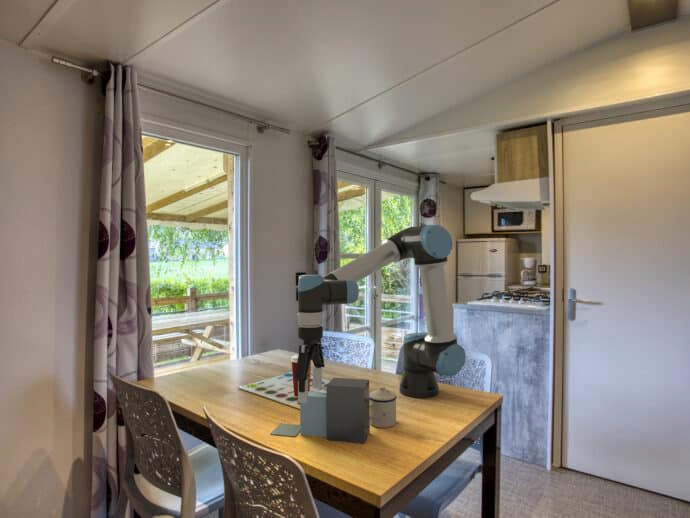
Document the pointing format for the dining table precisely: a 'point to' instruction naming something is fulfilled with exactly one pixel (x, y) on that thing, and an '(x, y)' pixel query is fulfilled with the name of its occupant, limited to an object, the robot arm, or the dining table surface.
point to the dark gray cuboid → (348, 410)
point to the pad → (286, 430)
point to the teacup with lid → (382, 408)
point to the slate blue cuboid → (314, 415)
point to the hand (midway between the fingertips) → (310, 395)
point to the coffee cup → (294, 366)
